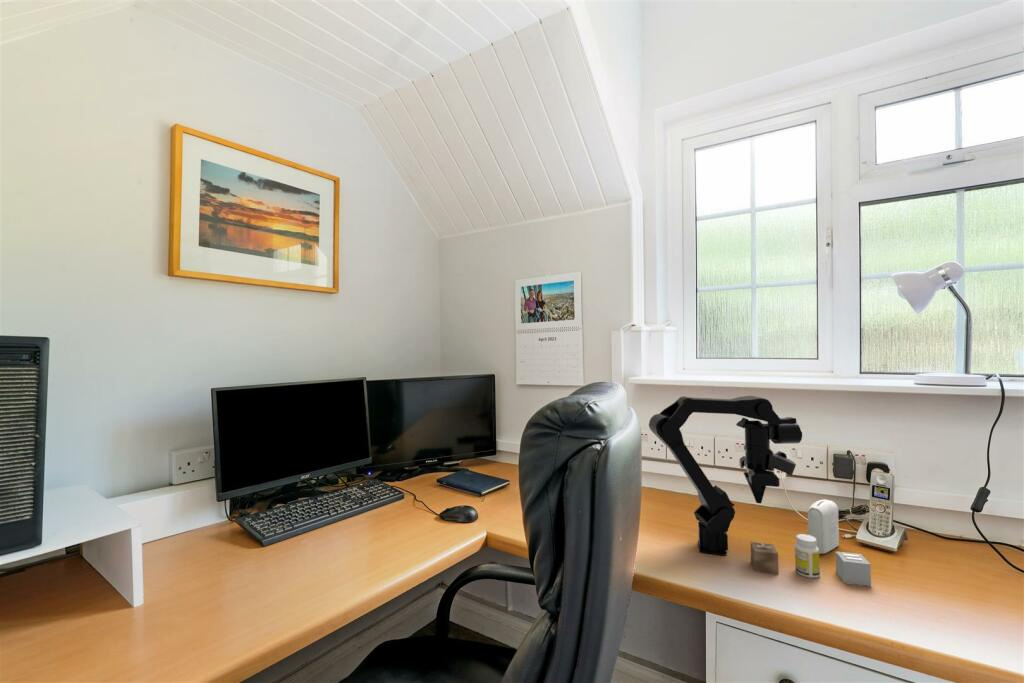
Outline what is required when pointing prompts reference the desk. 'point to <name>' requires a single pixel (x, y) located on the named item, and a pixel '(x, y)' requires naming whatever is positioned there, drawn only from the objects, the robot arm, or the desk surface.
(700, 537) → the robot arm
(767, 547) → the walnut block
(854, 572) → the grey block
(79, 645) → the desk surface
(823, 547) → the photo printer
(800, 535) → the supplement bottle
